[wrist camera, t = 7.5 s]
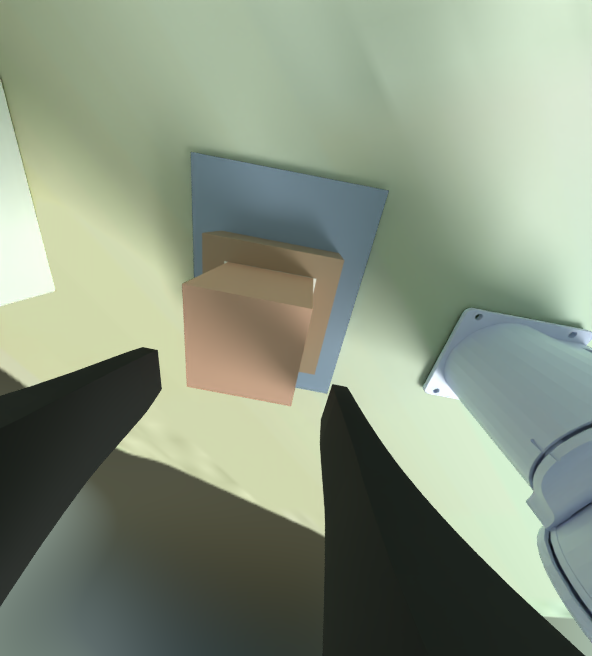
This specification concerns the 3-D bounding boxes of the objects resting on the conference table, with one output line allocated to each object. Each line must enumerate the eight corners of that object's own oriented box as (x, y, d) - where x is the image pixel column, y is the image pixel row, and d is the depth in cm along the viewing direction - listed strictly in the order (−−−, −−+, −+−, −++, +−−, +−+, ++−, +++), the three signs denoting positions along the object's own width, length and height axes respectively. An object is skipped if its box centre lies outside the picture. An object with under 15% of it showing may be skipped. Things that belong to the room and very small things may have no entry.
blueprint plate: (386, 191, 14) (408, 182, 11) (326, 388, 21) (329, 420, 18) (195, 154, 14) (158, 134, 11) (199, 365, 21) (178, 392, 18)
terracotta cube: (313, 278, 13) (312, 308, 9) (297, 351, 15) (291, 406, 11) (227, 261, 13) (182, 283, 8) (224, 337, 15) (186, 386, 11)
